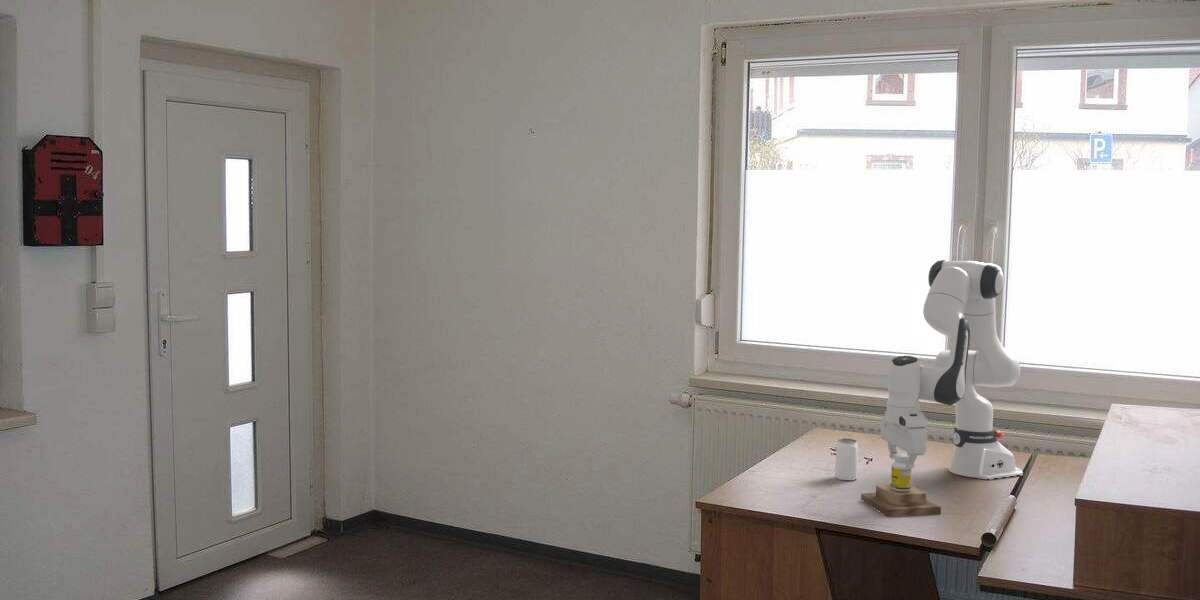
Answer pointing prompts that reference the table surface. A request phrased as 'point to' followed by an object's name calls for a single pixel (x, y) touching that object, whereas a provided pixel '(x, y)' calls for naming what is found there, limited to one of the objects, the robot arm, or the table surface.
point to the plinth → (900, 509)
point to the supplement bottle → (900, 474)
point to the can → (846, 459)
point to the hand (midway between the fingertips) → (901, 463)
